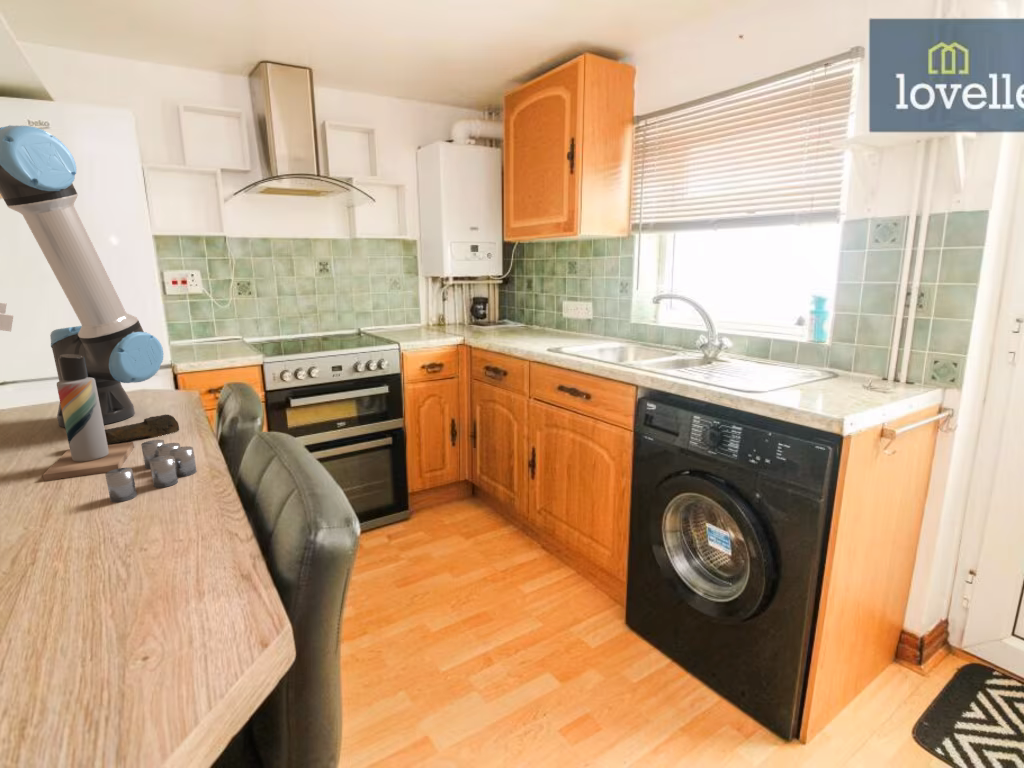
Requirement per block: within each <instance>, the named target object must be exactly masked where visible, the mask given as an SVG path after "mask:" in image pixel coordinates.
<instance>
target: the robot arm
mask: <svg viewBox="0 0 1024 768" xmlns="http://www.w3.org/2000/svg"><path fill="white" fill-rule="evenodd" d="M76 174H77V165H76V161H75V159H74V156H73V153H71V151H70V150H69V148H68V147H67V146H66V145H65V144H64V143H63V141H62V140H60V139H59V138H57V137H56V136H54V135H53V134H51V133H50V132H47V131H46V130H44V129H41V128H39V127H35V126H29V125H11V124H9V125H7V126H2V127H0V195H1V197H2V199H3V200H4V202H5V205H6V206H7V208H9V209H11V210H13V211H14V212H17V213H19V214H20V215H22V216H23V219H24V220H25V222H26V224H27V226H28V227H29V229H30V232H31V233H32V235H33V237H34V239H35V241H36V243H37V245H38V246H39V248H40V250H41V251H42V254H43V255H44V258H45V260H46V262H47V263H48V265H49V266H50V268H51V271H52V272H53V274H54V276H55V278H56V280H57V282H58V283H59V286H60V287H61V289H62V290H63V292H64V295H65V296H66V298H67V300H68V302H69V304H70V305H71V307H72V309H73V311H74V313H75V315H76V317H77V319H78V321H79V322H80V324H81V325H79V326H71V327H63V328H62V327H61V328H56V329H53V330H52V331H51V332H50V334H49V335H50V347H51V349H52V350H51V351H52V353H53V354H52V355H53V358H54V363H55V368H56V374H57V377H58V382H59V381H62V376H61V371H60V366H59V361H58V359H59V358H60V356H61V355H64V354H74V355H83V356H84V358H85V363H86V368H87V373H88V377H90V378H94V379H95V382H96V387H97V392H98V397H99V403H100V408H101V413H102V418H103V423H104V425H108V424H112V423H113V424H114V423H117V422H121V421H124V420H127V419H129V418H132V417H133V416H134V415H135V414H136V412H135V406H134V403H133V402H132V400H131V398H130V397H129V396H128V394H127V392H126V391H125V389H124V387H123V386H122V384H131V383H134V384H135V383H136V384H137V383H142V382H145V381H147V380H150V379H151V378H152V377H154V376H155V375H156V374H157V373H158V371H160V368H161V365H162V363H163V362H164V356H165V355H164V349H163V346H162V343H161V342H160V340H159V339H158V338H157V337H156V336H154V335H152V334H151V333H149V332H146V331H144V329H143V328H142V325H141V323H140V321H139V318H138V317H136V316H135V315H132V314H129V313H128V312H127V311H126V310H125V308H124V306H123V304H122V302H121V299H120V298H119V296H118V295H119V294H117V291H116V289H115V287H114V285H113V283H112V281H111V279H110V276H109V275H108V273H107V271H106V269H105V266H104V265H103V263H102V261H101V259H100V256H99V254H98V252H97V251H96V248H95V247H94V245H93V242H92V241H91V238H90V237H89V236H90V235H89V234H88V232H87V231H86V230H87V229H86V227H85V226H84V224H83V222H82V220H81V218H80V216H79V213H78V212H77V210H76V207H75V201H76V200H77V198H78V196H79V195H78V192H77V190H76V187H75V186H74V184H73V182H74V181H75V176H76ZM6 310H7V303H6V302H2V301H1V302H0V331H5V332H12V327H13V322H14V321H13V320H14V314H9V313H8V314H7V313H6ZM56 418H57V423H58V426H59V427H62V428H65V423H64V418H63V414H62V409H61V404H60V402H59V405H58V410H57V415H56Z"/></svg>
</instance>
